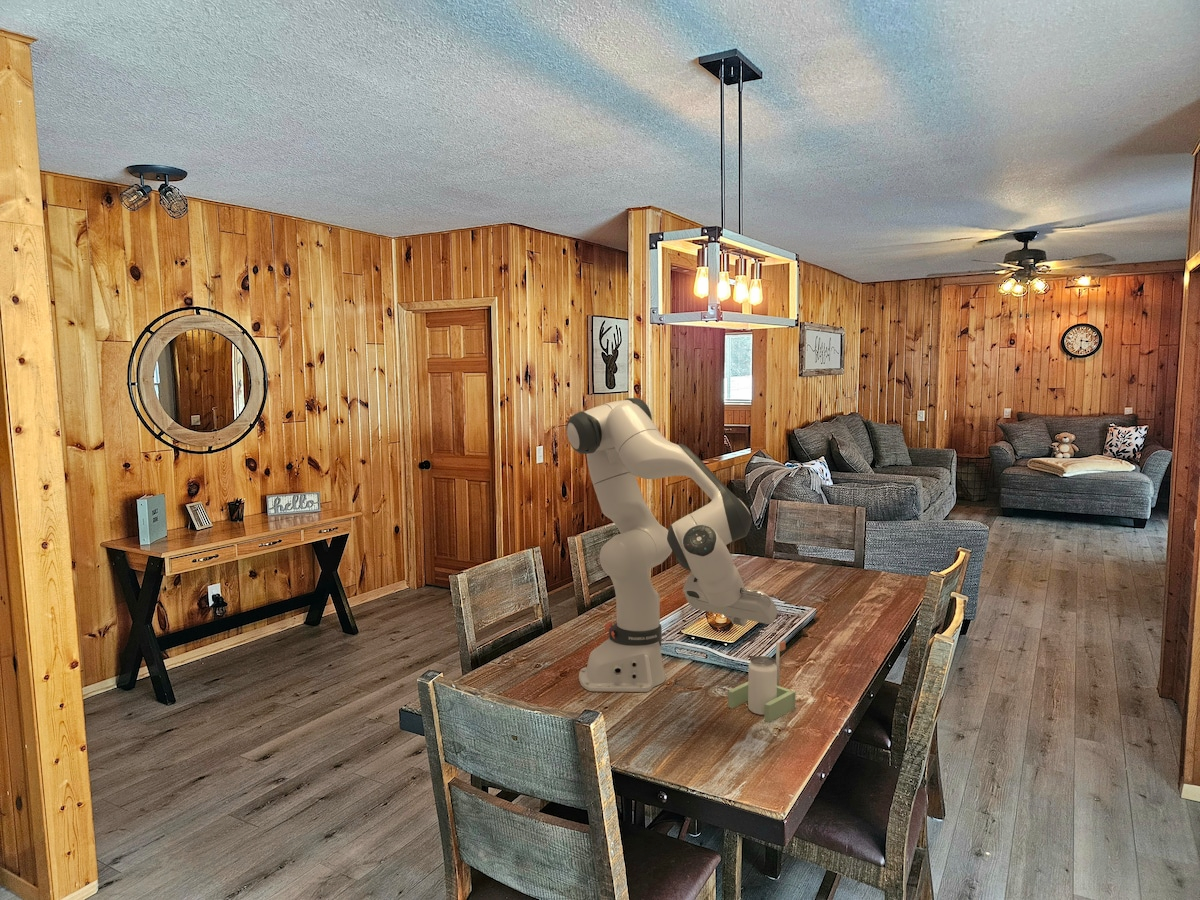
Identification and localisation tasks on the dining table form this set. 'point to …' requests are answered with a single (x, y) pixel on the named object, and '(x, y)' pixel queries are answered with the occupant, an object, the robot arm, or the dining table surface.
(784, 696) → the olive frame
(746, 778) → the dining table surface
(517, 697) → the dining table surface
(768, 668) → the can
